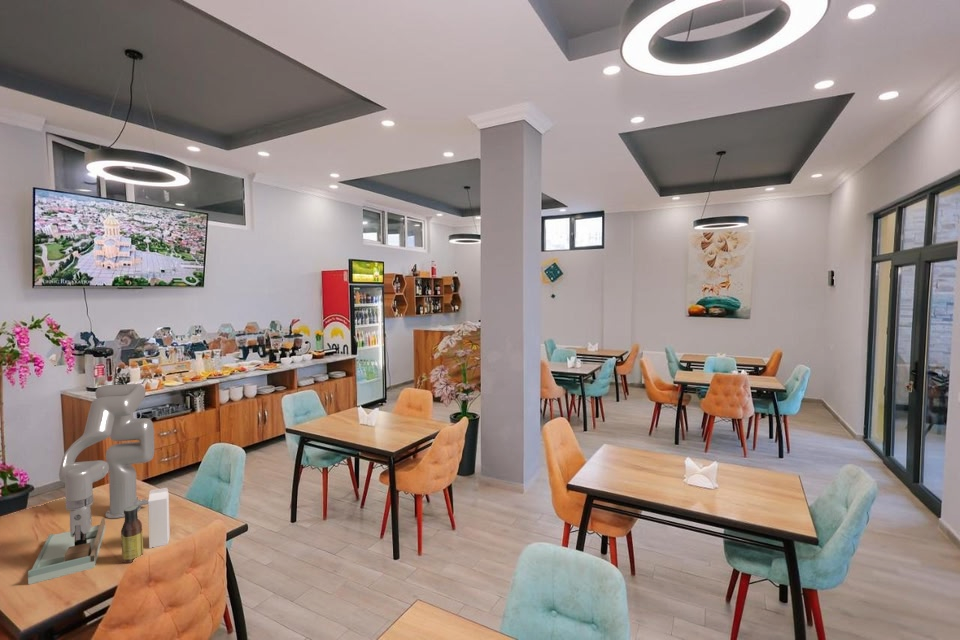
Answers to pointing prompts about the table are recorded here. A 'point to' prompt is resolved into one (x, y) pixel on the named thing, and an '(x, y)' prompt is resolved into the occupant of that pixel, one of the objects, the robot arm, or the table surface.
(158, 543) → the milk
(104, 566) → the table surface
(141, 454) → the robot arm
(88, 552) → the walnut block
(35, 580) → the board
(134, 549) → the sauce bottle
